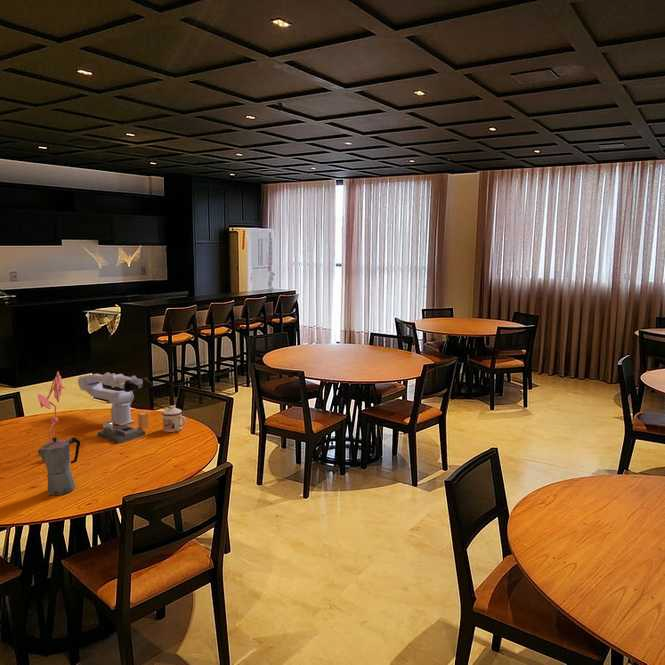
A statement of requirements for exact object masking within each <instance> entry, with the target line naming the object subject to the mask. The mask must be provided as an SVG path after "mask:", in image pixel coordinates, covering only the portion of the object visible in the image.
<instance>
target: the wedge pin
mask: <svg viewBox="0 0 665 665" xmlns="http://www.w3.org/2000/svg"><path fill="white" fill-rule="evenodd" d="M148 415H149V414H148V413H147V412H140V413H138V414H137V420H138V421H137V422H138V425H137V426H138V428H137V429H140V430H146V429H148V428H149V416H148Z"/></svg>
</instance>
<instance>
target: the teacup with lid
mask: <svg viewBox="0 0 665 665" xmlns="http://www.w3.org/2000/svg"><path fill="white" fill-rule="evenodd" d="M161 414H162V428H163V430H162V431H163V432H164V433H168V432H173V433H175V432H174V431H178V430H180V429H182V430H183V427H184V426H185V425H186V423H187V419H186V417H185V416H183V415H182V414H183V411H182V409H180V408H177V407H175V406H174V405H170V406H169V407H168V408H167V409H164V410H162V412H161ZM178 432H179V431H178Z"/></svg>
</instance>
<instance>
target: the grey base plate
mask: <svg viewBox="0 0 665 665" xmlns="http://www.w3.org/2000/svg"><path fill="white" fill-rule="evenodd" d="M144 436H146V431H145V430H144V429H140V428H137V427H134V426H130V425H128V424H124V425H118V426H115V427H114V423H113V422H111V420H109V421H105V422H104V421H103V422H102V430H101V431H97V437H100V439H105V440H106V441H107V440H108V441H110V442H112V443H114V444H121V443H126V442H127V441H132V440H134V439H138V438H141V437H144Z"/></svg>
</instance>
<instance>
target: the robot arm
mask: <svg viewBox="0 0 665 665" xmlns="http://www.w3.org/2000/svg"><path fill="white" fill-rule="evenodd" d="M77 385H78V387H79V389H80V390H81V391H85V392H86V393H87V394H89V395H90V396H91V397H92V398H97V399H102V400H105V401H108V403H109V404H111V405H112V406H111V407H110V418H111V420H110V421H111V422H113V424H115V425H118V426H121V425H128V424H132V423H135V419H134V420H133V419H132V418H131V415H132V414H131V405H132V402H134V401H133V400H134V398H135V396H134V393H133V392H134V391H139V390H140V388H142V387H143V388H142V389H143V390H147V389H153V387H154V386H153V385H154V384H153V382H151V381H150V380H149V378H148V377H142V378H137V376H136V375H131V376H126V375H124V374H123V373H119V374H118V373H117V374H116V373H110V372H105V373H104V374H100V373H93V374H87V375H84V376H79V377H78V379H77ZM103 385H104V386H111V388H119V389H122V390H113V389H108V388H105V387H104V386H103ZM123 389H124V390H123Z"/></svg>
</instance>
